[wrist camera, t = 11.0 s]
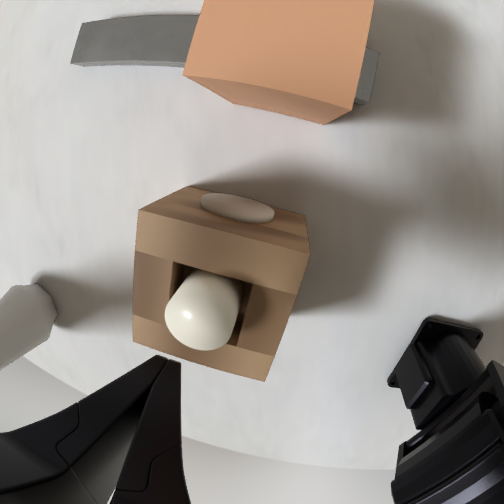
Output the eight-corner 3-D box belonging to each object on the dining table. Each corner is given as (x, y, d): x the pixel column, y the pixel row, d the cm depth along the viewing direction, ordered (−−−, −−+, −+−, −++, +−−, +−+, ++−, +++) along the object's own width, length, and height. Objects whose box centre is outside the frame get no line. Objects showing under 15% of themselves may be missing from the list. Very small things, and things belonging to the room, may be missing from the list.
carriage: (347, 22, 12) (381, -50, 5) (323, 125, 15) (351, 110, 7) (260, 3, 12) (235, -75, 5) (233, 103, 15) (182, 75, 8)
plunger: (249, 271, 14) (238, 303, 11) (237, 320, 15) (225, 358, 12) (191, 255, 14) (167, 283, 11) (184, 304, 15) (162, 338, 12)
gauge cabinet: (306, 210, 17) (312, 247, 11) (273, 316, 19) (264, 381, 14) (188, 181, 17) (139, 202, 11) (172, 288, 20) (132, 341, 14)
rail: (372, 59, 13) (379, 52, 11) (362, 105, 14) (369, 102, 13) (94, 28, 14) (82, 23, 12) (83, 66, 15) (70, 63, 13)
